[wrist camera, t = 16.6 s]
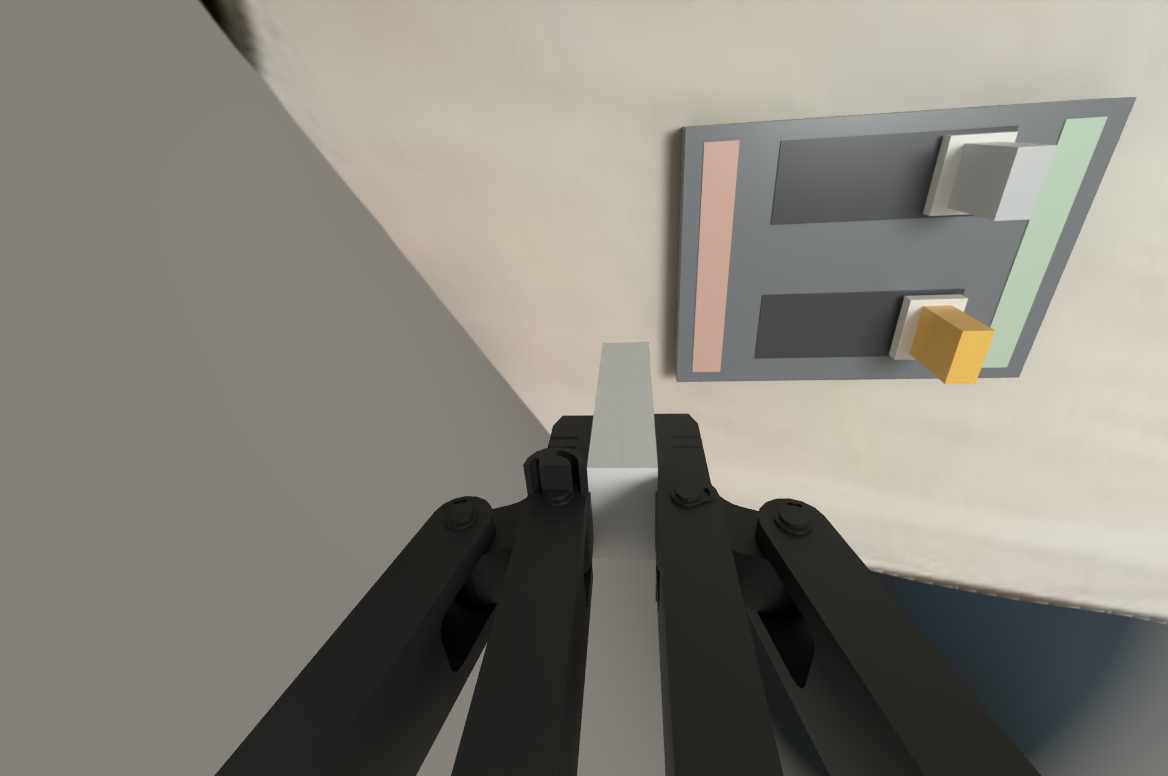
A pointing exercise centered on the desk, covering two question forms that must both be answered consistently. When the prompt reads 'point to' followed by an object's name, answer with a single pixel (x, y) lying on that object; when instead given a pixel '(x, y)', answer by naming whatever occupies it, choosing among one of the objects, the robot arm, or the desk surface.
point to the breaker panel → (878, 233)
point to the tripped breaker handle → (941, 337)
